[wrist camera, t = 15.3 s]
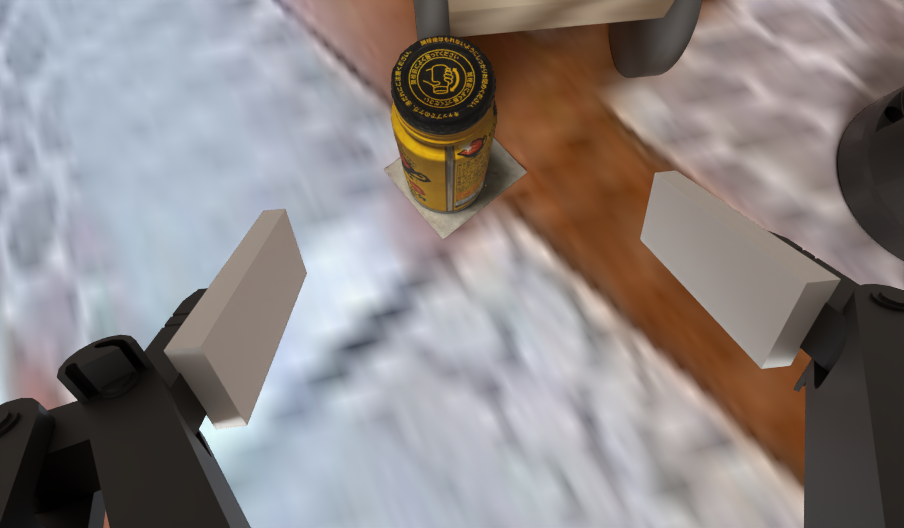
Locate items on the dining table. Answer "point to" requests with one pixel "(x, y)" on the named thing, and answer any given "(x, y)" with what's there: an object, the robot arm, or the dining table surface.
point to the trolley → (575, 24)
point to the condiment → (447, 132)
